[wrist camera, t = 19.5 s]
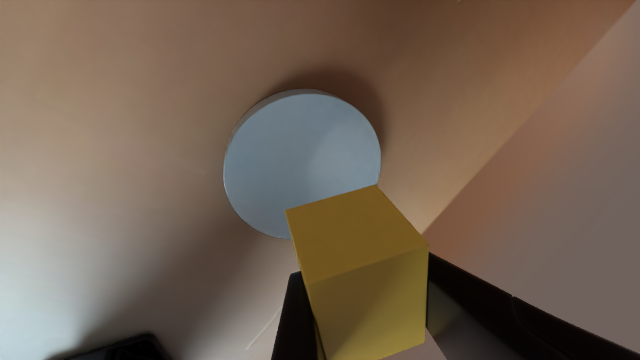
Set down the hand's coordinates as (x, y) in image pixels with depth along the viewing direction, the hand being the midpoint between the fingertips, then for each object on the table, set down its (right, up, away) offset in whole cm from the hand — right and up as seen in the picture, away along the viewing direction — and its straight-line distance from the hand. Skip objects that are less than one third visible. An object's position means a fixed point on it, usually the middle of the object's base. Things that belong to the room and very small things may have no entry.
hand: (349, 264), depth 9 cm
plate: (-2, +3, +6) cm, 8 cm away
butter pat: (0, 0, +1) cm, 1 cm away
